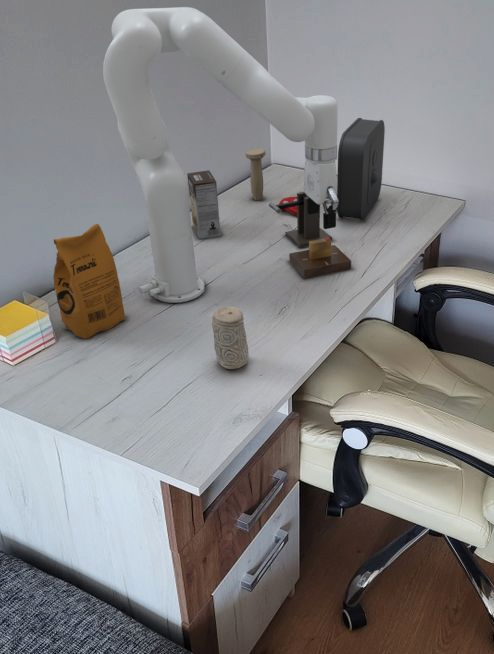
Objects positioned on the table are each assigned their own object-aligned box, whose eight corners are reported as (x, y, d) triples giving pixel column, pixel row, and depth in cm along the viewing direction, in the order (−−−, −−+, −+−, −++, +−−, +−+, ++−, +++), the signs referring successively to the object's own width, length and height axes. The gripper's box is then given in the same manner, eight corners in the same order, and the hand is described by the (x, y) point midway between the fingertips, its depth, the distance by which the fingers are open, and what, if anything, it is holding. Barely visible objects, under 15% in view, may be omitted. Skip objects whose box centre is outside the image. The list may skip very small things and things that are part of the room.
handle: (270, 197, 210) (268, 150, 201) (256, 203, 205) (254, 155, 197) (258, 194, 212) (256, 147, 204) (245, 200, 208) (242, 152, 199)
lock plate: (304, 278, 166) (304, 269, 164) (289, 261, 173) (289, 252, 172) (350, 269, 170) (351, 260, 169) (334, 253, 178) (334, 244, 176)
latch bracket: (300, 248, 180) (299, 203, 173) (285, 235, 187) (284, 192, 179) (332, 240, 184) (332, 196, 177) (316, 228, 191) (316, 186, 183)
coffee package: (57, 326, 147) (34, 235, 134) (106, 305, 155) (88, 216, 142) (82, 343, 141) (60, 249, 129) (131, 320, 149) (115, 230, 137)
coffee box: (192, 226, 191) (186, 172, 182) (214, 223, 193) (209, 169, 184) (199, 239, 184) (193, 183, 175) (221, 236, 186) (217, 180, 177)
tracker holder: (314, 212, 197) (281, 206, 195) (310, 224, 200) (278, 218, 198) (311, 189, 205) (280, 183, 203) (308, 200, 208) (276, 195, 206)
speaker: (359, 193, 214) (362, 113, 199) (385, 196, 211) (390, 116, 197) (336, 223, 194) (338, 137, 180) (364, 227, 192) (369, 140, 178)
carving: (231, 349, 140) (227, 300, 133) (256, 363, 136) (253, 313, 129) (208, 362, 136) (203, 312, 129) (233, 377, 132) (229, 326, 125)
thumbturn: (311, 260, 169) (311, 243, 166) (308, 257, 170) (308, 240, 168) (331, 256, 171) (331, 239, 168) (328, 253, 172) (328, 236, 169)
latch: (277, 215, 174) (276, 207, 172) (268, 209, 177) (268, 200, 176) (317, 207, 179) (317, 198, 177) (308, 201, 182) (308, 192, 181)
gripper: (292, 143, 160) (294, 210, 170) (321, 166, 148) (321, 236, 157) (320, 139, 163) (321, 205, 173) (351, 161, 150) (350, 231, 160)
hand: (321, 220), depth 165 cm, fingers open, 9 cm apart
